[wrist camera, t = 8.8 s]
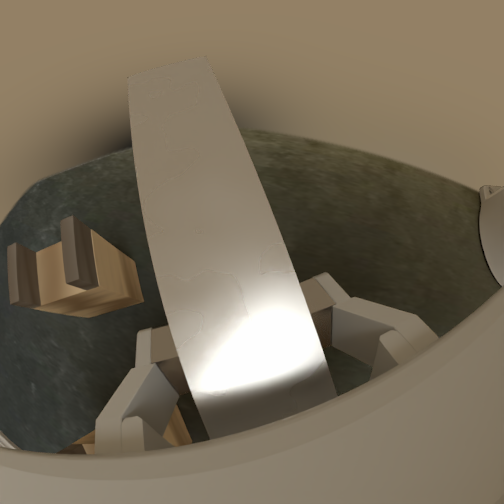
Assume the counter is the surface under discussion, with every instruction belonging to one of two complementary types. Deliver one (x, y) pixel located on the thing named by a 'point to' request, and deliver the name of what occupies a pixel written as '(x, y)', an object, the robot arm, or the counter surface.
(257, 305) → the rail
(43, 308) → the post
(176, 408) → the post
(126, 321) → the counter surface
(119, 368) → the counter surface
